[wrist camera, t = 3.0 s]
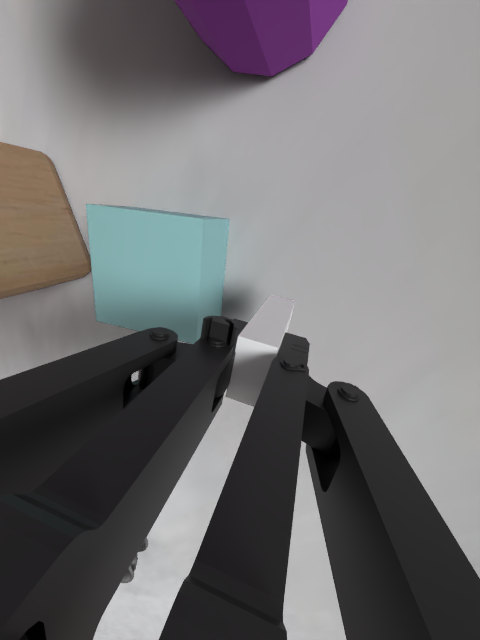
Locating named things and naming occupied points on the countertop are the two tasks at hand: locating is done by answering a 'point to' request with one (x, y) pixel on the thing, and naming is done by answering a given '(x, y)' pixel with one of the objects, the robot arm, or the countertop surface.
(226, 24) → the mug
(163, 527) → the countertop surface
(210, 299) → the teal block
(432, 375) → the countertop surface
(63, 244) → the wooden block
